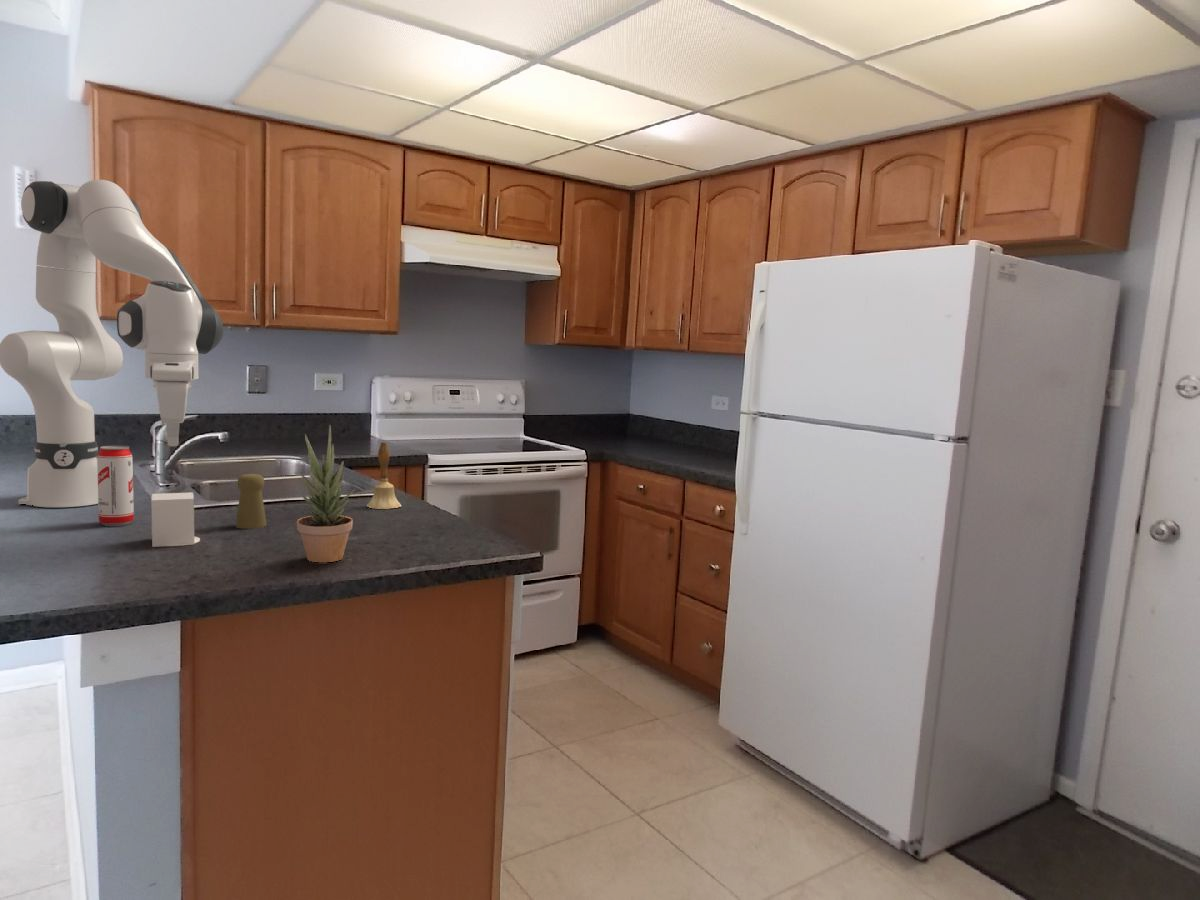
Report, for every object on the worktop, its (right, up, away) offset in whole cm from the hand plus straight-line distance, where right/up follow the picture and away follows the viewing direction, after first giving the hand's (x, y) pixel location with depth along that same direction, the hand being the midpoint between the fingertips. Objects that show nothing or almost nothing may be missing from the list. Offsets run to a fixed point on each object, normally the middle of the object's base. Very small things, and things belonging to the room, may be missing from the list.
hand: (173, 442), depth 153 cm
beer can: (-19, -17, +14) cm, 29 cm away
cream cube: (-1, -19, +2) cm, 19 cm away
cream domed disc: (0, -19, +2) cm, 19 cm away
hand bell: (+28, -16, +45) cm, 55 cm away
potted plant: (+31, -21, -6) cm, 38 cm away
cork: (+7, -18, +18) cm, 26 cm away
